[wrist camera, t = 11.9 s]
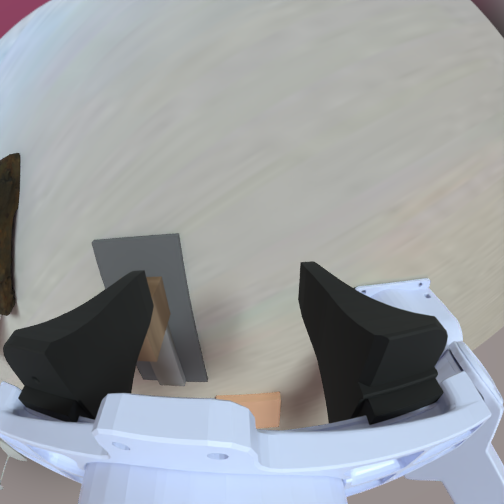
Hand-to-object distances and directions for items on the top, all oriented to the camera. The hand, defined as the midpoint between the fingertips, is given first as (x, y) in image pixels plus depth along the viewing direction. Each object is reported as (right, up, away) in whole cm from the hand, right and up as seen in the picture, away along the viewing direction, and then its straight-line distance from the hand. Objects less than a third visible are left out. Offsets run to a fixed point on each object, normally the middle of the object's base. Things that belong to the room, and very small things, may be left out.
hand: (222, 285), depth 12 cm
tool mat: (-8, -5, +13) cm, 16 cm away
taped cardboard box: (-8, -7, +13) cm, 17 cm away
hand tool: (-25, +4, +8) cm, 27 cm away
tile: (+1, -16, +18) cm, 25 cm away
